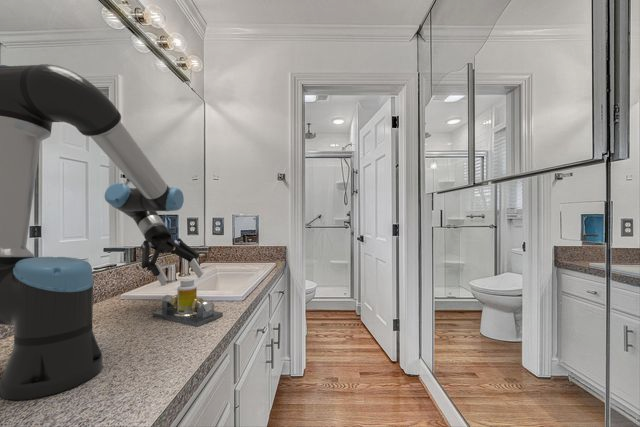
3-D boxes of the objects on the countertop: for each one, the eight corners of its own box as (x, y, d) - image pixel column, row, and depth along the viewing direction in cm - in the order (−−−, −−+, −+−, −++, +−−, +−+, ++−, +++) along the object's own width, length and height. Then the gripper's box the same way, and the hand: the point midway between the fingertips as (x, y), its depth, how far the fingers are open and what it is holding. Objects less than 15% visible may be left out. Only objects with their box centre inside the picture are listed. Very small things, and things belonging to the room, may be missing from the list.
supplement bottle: (198, 312, 95) (199, 280, 96) (180, 316, 92) (180, 282, 92) (193, 308, 100) (193, 277, 100) (175, 311, 96) (175, 279, 96)
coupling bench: (197, 326, 87) (197, 304, 87) (152, 316, 96) (152, 296, 96) (222, 316, 96) (222, 296, 96) (179, 308, 105) (179, 289, 105)
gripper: (180, 236, 117) (208, 279, 110) (112, 241, 95) (141, 294, 88) (190, 223, 115) (219, 265, 108) (122, 224, 93) (152, 278, 85)
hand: (184, 278), depth 98 cm, fingers open, 13 cm apart
